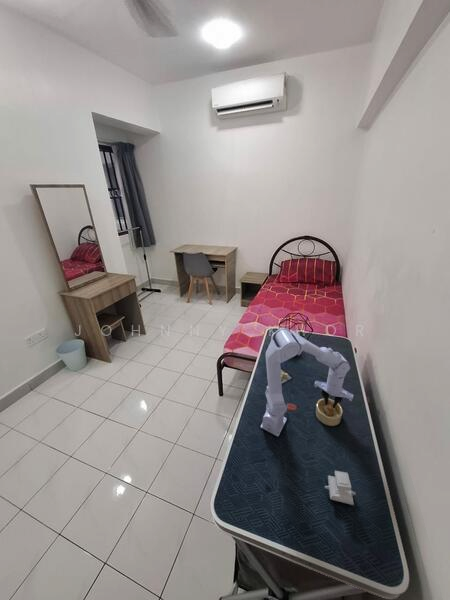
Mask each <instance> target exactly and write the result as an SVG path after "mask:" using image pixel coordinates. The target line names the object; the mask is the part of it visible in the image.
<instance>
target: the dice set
mask: <svg viewBox="0 0 450 600" xmlns="http://www.w3.org/2000/svg"><path fill="white" fill-rule="evenodd" d="M291 379H292V376H290V375H289V374H288V373H287V372H285V370H283V369H282V368H281V385H282V384H284V383H286V382H287V381H289V380H291Z"/></svg>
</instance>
